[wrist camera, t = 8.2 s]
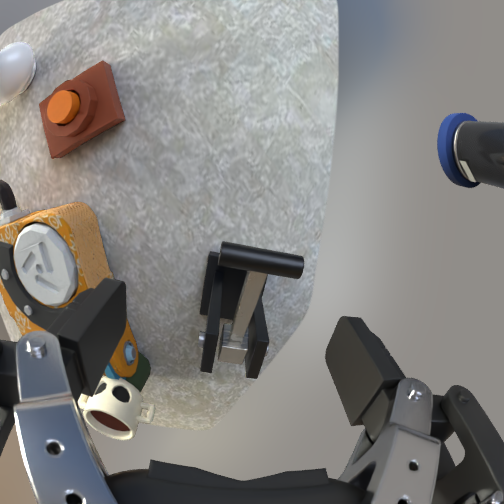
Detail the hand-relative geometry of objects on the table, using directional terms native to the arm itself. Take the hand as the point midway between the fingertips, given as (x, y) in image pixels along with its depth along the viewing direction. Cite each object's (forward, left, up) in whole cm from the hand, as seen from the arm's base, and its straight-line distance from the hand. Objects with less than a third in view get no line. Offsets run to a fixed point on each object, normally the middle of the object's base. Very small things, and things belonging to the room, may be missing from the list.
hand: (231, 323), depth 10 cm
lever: (+1, +5, -10) cm, 11 cm away
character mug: (+22, +17, -22) cm, 35 cm away
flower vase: (+22, -31, -22) cm, 44 cm away
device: (+27, -1, -22) cm, 35 cm away
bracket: (+3, +9, -22) cm, 24 cm away
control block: (+13, -18, -22) cm, 31 cm away
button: (+13, -18, -18) cm, 29 cm away
